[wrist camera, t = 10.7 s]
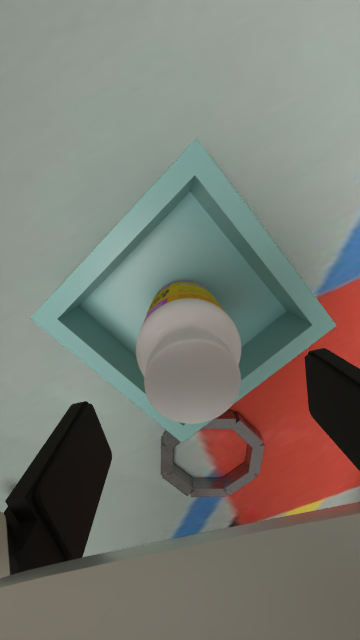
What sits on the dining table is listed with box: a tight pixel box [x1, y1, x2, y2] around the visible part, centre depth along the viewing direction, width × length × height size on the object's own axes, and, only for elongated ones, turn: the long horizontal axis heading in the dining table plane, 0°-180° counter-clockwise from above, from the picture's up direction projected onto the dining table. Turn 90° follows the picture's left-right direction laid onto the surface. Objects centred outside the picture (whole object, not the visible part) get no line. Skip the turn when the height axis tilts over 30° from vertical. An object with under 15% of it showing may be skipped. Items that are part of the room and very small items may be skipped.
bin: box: [30, 138, 337, 443], centre depth 21 cm, size 18×18×6 cm
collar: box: [161, 410, 265, 497], centre depth 29 cm, size 13×13×2 cm
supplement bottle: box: [136, 280, 241, 424], centre depth 17 cm, size 7×7×13 cm
